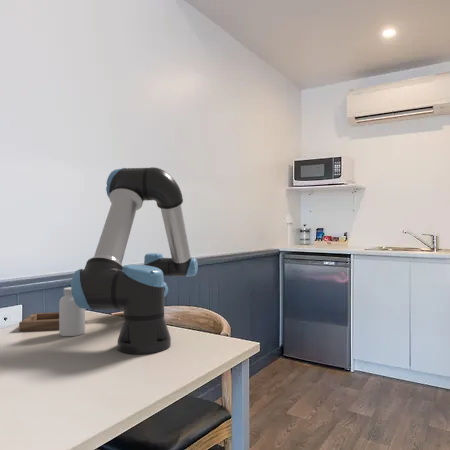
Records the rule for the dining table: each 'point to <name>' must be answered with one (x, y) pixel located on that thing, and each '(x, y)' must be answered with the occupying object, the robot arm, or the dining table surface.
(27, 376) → the dining table surface
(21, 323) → the tray
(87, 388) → the dining table surface
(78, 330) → the pill bottle
